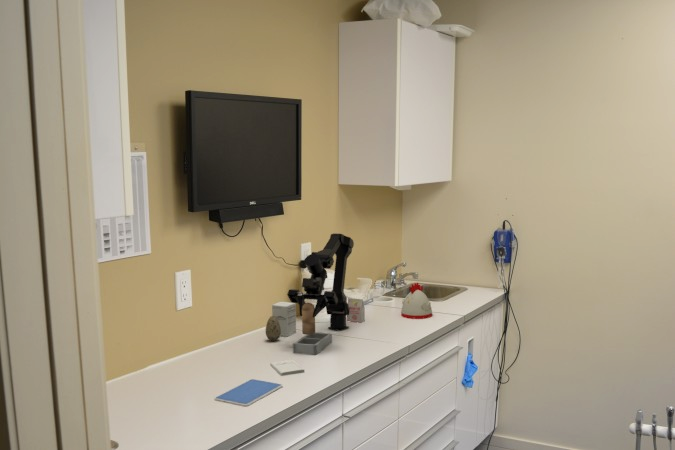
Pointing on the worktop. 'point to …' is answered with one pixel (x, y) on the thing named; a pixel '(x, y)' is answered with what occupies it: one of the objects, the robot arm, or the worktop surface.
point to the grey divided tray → (312, 343)
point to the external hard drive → (287, 367)
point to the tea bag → (356, 310)
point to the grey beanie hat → (416, 304)
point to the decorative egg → (273, 329)
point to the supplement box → (285, 317)
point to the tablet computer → (248, 392)
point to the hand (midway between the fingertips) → (307, 316)
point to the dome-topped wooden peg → (308, 319)
